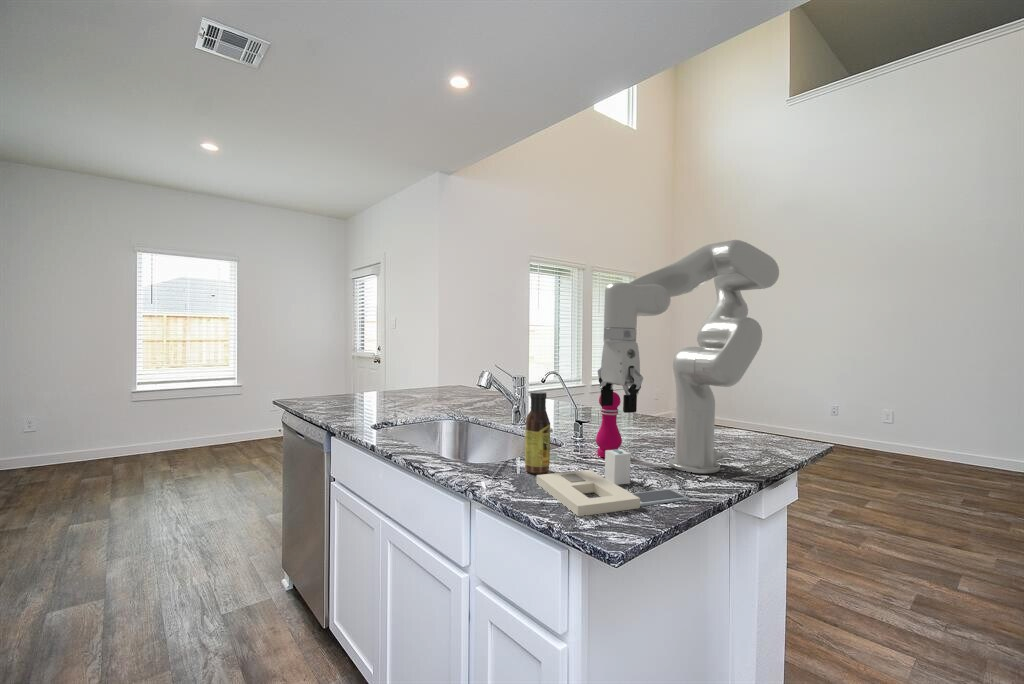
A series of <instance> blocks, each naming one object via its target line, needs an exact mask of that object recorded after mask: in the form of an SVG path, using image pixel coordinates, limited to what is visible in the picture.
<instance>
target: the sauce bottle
mask: <svg viewBox="0 0 1024 684" xmlns="http://www.w3.org/2000/svg"><path fill="white" fill-rule="evenodd" d="M546 403H547V392H545V391H531V392H530V411H529V412H528V414H527V416H526V418H525V431H524V432H525V434H524V435H525V437H524V438H525V440H524V441H525V442H524V443H525V444H524V464H525V465H524V466H525V467H524V468H525V469H524V470H525V472H527V473H530V474H535V475H542V474H547V473H548V472H549V471H550V460H551V459H550V458H551V455H550V454H551V453H550V452H551V451H550V450H551V421H550V419H549V416H548V413H547V410H546V409H547V408H546V406H547V405H546Z"/></svg>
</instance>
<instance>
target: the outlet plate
mask: <svg viewBox="0 0 1024 684" xmlns="http://www.w3.org/2000/svg"><path fill="white" fill-rule="evenodd" d="M537 484H538V485H537ZM536 485H537V486H539V487H540V488H541V487H542V488H543V489H542V488H541V489H542V490H543V491H545V492H546V493H547V492H548V493H547V494H548V495H550V496H551V495H552V496H553V497H552V496H551V497H552V498H553V499H555V500H556V499H557V500H558V501H557V500H556V501H557V502H559V504H561V503H562V504H563V505H562V504H561V505H562V506H563V507H565V506H566V507H567V508H568V509H567V508H566V507H565V508H566V509H567V510H569V511H570V510H571V511H572V512H573V513H572V512H571V511H570V512H571V513H572V514H573V515H575V514H576V515H577V516H579V517H585V516H584V515H586V516H592V515H593V516H594V515H599V514H600V515H601V514H608V513H614V512H621V511H622V512H623V511H628V510H636V509H640V508H641V506H640V498H639V497H637V496H635V495H633V494H632V493H633V492H630V491H629V490H626V489H624V488H623V487H621V486H619V485H616V484H614V483H612V482H611V481H609V480H607V479H605V476H604V477H603V476H602V475H600V474H599V473H596V472H595V471H593V470H592V469H585V470H575V471H566V472H565V471H564V472H555V473H542V474H536ZM589 493H594V494H595V495H597V496H598V497H597V496H596V497H588V496H587V495H585V494H589ZM576 515H575V516H576ZM577 516H576V517H577Z"/></svg>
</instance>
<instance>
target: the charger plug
mask: <svg viewBox="0 0 1024 684" xmlns="http://www.w3.org/2000/svg"><path fill="white" fill-rule="evenodd" d="M631 457H632V455H631V453H630V452H628V451H625V450H623V449H620V448H618V449H614V450H605V458H604V478H605V479H607V480H609V481H611V482H612V483H614V484H616V485H618V486H619V485H626V484H630V483H631Z"/></svg>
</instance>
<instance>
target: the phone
mask: <svg viewBox="0 0 1024 684" xmlns="http://www.w3.org/2000/svg"><path fill="white" fill-rule="evenodd" d="M631 493H632V494H633V495H635V496H637V497H639V498H640V507H642V506H643V507H644V506H650V505H658V504H659V505H660V504H665V503H666V502H667V503H674V502H673V501H675V502H680V501H679V500H683V501H687V500H686V499H689V500H690V497H689V496H686V495H684V494H683V493H680V492H678V491H676V490H674V489H673V488H665V489H664V488H662V489H657V490H648V491H647V490H646V491H640V492H639V491H638V492H631ZM667 503H666V504H667Z"/></svg>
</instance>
